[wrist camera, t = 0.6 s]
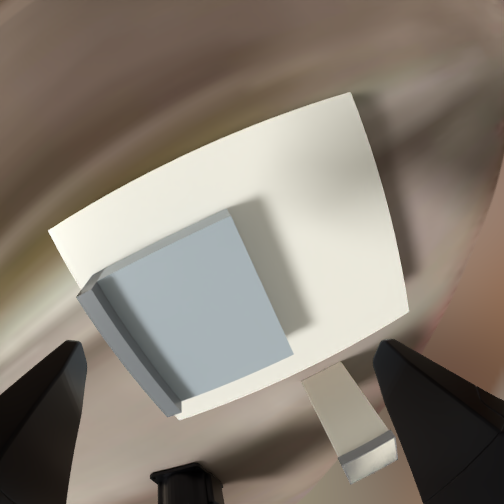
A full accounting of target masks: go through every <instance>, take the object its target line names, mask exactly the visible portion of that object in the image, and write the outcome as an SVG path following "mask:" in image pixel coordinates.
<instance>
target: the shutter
mask: <svg viewBox="0 0 504 504" xmlns="http://www.w3.org/2000/svg"><path fill="white" fill-rule="evenodd" d="M76 298H77V299H78V301H79V302H80V304H81V306H82V307H83V309H84V310H85V312H86V313H87V315H88V316H89V318H90V319H91V321H92V322H93V324H94V325H95V327H96V328H97V330H98V331H99V332H100V334H101V335H102V337H103V338H104V339H105V341H106V342H107V344H108V345H109V346H110V348H111V349H112V350H113V352H114V353H115V354H116V356H117V357H118V358H119V360H120V361H121V362H122V364H123V365H124V366H125V367H126V369H127V370H128V371H129V373H130V374H131V375H132V376H133V378H134V379H135V380H136V381H137V382H138V384H139V385H140V386H141V387H142V389H143V390H144V391H145V392H146V393H147V394H148V396H149V397H150V398H151V399H152V400H153V401H154V403H155V404H156V405H157V406H158V407H159V408H160V409H161V411H162V412H163V413H164V414H165V415H166V416H167V417H170V416H173V415H176V414H179V413H182V401H184V400H187V399H190V398H192V397H195V396H198V395H200V394H203V393H205V392H208V391H211V390H213V389H216V388H218V387H221V386H223V385H226V384H228V383H231V382H233V381H235V380H238V379H240V378H243V377H245V376H247V375H250V374H252V373H254V372H257V371H259V370H261V369H263V368H266V367H268V366H270V365H272V364H274V363H277V362H279V361H281V360H283V359H285V358H287V357H290V356H292V355H294V353H293V351H292V349H291V347H290V345H289V342H288V340H287V338H286V336H285V334H284V331H283V329H282V327H281V325H280V323H279V320H278V318H277V316H276V314H275V312H274V310H273V307H272V305H271V303H270V301H269V299H268V296H267V294H266V292H265V290H264V288H263V285H262V283H261V281H260V279H259V277H258V274H257V272H256V270H255V268H254V266H253V263H252V261H251V259H250V257H249V255H248V252H247V250H246V248H245V246H244V244H243V241H242V239H241V237H240V235H239V233H238V230H237V228H236V226H235V224H234V221H233V219H232V217H231V215H230V213H229V212H228V210H227V209H224V210H222V211H220V212H218V213H216V214H214V215H211V216H209V217H207V218H205V219H203V220H201V221H199V222H197V223H194V224H192V225H190V226H188V227H186V228H184V229H182V230H180V231H178V232H176V233H174V234H172V235H170V236H167V237H165V238H163V239H161V240H159V241H157V242H155V243H153V244H151V245H149V246H147V247H145V248H143V249H141V250H139V251H137V252H135V253H133V254H131V255H129V256H128V257H126V258H124V259H122V260H120V261H118V262H116V263H114V264H112V265H110V266H108V267H106V268H104V269H102V270H101V271H99V272H97V273H95V274H93V275H92V276H91V277H90V279H89V280H88V281H87V283H86V284H85V286H84V287H83V288H82V290H81V291H80V293H79V294H78V295H77V297H76Z"/></svg>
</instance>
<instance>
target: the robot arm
mask: <svg viewBox="0 0 504 504" xmlns="http://www.w3.org/2000/svg"><path fill="white" fill-rule="evenodd" d="M373 367H374V370H375V373H376V376H377V380H378V383H379V386H380V390H381V393H382V396H383V399H384V402H385V405H386V408H387V410H388V413H389V415H390V417H391V420H392V422H393V425H394V427H395V430H396V432H397V434H398V437H399V440H400V442H401V445H402V447H403V450H404V453H405V455H406V458H407V460H408V463H409V466H410V468H411V471H412V474H413V477H414V479H415V482H416V484H417V487H418V490H419V493H420V496H421V499H422V502H423V503H424V504H504V401H503V400H502V399H499V398H497V397H495V396H494V395H492V394H490V393H488V392H486V391H484V390H483V389H481V388H479V387H476V386H475V385H474V384H472V383H470V382H468V381H466V380H465V379H463V378H461V377H460V376H458V375H456V374H454V373H453V372H451V371H449V370H447V369H446V368H444V367H442V366H440V365H438V364H437V363H435V362H433V361H432V360H430V359H428V358H426V357H424V356H423V355H421V354H419V353H418V352H416V351H414V350H412V349H411V348H409V347H407V346H405V345H404V344H402V343H400V342H398V341H397V340H395V339H385V340H382V341H381V342H380V344H379V347H378V349H377V351H376V353H375V356H374V358H373ZM86 374H87V362H86V358H85V354H84V351H83V347H82V344H81V342H79V341H74V340H67V341H65V342H64V343H62V344H61V345H60V346H59V347H57V348H56V349H55V350H54V351H53V352H51V353H50V354H49V355H48V356H46V357H45V358H44V359H43V360H41V361H40V362H39V363H38V364H37V365H35V366H34V367H33V368H32V369H31V370H29V371H28V372H27V373H26V374H25V375H23V376H22V377H21V378H20V379H19V380H17V381H16V382H15V383H14V384H13V385H12V386H10V387H9V388H8V389H7V390H6V391H4V392H3V393H2V394H1V395H0V504H66V500H67V492H68V485H69V478H70V472H71V466H72V460H73V454H74V449H75V444H76V439H77V434H78V429H79V424H80V419H81V414H82V406H83V397H84V388H85V381H86ZM150 479H151V480H152V481H154V482H155V483H157V484H158V504H224V499H223V493H222V488H223V484H222V483H221V482H220V481H219V480H218V479H217V478H216V477H214V476H213V475H212V474H211V473H209V472H208V471H207V470H205V469H204V468H203V467H202V466H201V465H200V464H198V463H193V464H190V465H186V466H182V467H178V468H174V469H170V470H166V471H162V472H158V473H153V474H150Z"/></svg>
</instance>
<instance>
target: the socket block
mask: <svg viewBox="0 0 504 504" xmlns="http://www.w3.org/2000/svg"><path fill="white" fill-rule="evenodd" d="M224 209H227V210H228V212H229V213H230V215H231V217H232V219H233V221H234V224H235V226H236V228H237V230H238V233H239V235H240V237H241V239H242V241H243V244H244V246H245V248H246V250H247V252H248V255H249V257H250V259H251V261H252V263H253V266H254V268H255V270H256V272H257V274H258V277H259V279H260V281H261V283H262V285H263V288H264V290H265V292H266V294H267V296H268V299H269V301H270V303H271V305H272V307H273V310H274V312H275V314H276V316H277V318H278V320H279V323H280V325H281V327H282V329H283V331H284V334H285V336H286V338H287V340H288V342H289V345H290V347H291V349H292V351H293V353H294V355H292V356H290V357H287V358H285V359H283V360H281V361H279V362H277V363H274V364H272V365H270V366H268V367H266V368H263V369H261V370H259V371H257V372H254V373H252V374H250V375H247V376H245V377H243V378H240V379H238V380H235V381H233V382H231V383H228V384H226V385H223V386H221V387H218V388H216V389H213V390H211V391H208V392H205V393H203V394H200V395H198V396H195V397H192V398H190V399H187V400H184V401H182V413H179V414H176V415H175V416H176V417H177V418H178V420H182V419H185V418H188V417H191V416H193V415H196V414H199V413H202V412H205V411H207V410H210V409H213V408H216V407H218V406H221V405H223V404H226V403H229V402H231V401H234V400H236V399H239V398H241V397H244V396H246V395H248V394H251V393H253V392H256V391H258V390H260V389H263V388H265V387H267V386H270V385H272V384H274V383H276V382H279V381H281V380H283V379H285V378H287V377H290V376H292V375H294V374H296V373H298V372H300V371H302V370H304V369H306V368H308V367H310V366H313V365H315V364H317V363H319V362H321V361H323V360H325V359H326V358H328V357H330V356H332V355H334V354H336V353H338V352H340V351H342V350H344V349H346V348H347V347H349V346H351V345H353V344H355V343H357V342H358V341H360V340H362V339H364V338H366V337H367V336H369V335H371V334H373V333H374V332H376V331H378V330H380V329H381V328H383V327H385V326H386V325H388V324H390V323H391V322H393V321H395V320H396V319H398V318H400V317H401V316H403V315H404V314H406V313H408V312H409V308H408V301H407V295H406V289H405V283H404V277H403V272H402V267H401V262H400V257H399V252H398V247H397V242H396V238H395V234H394V229H393V225H392V221H391V217H390V213H389V209H388V205H387V201H386V197H385V194H384V190H383V187H382V183H381V180H380V176H379V173H378V169H377V166H376V163H375V160H374V156H373V153H372V150H371V147H370V144H369V141H368V138H367V135H366V132H365V129H364V127H363V124H362V121H361V118H360V115H359V113H358V110H357V107H356V105H355V102H354V100H353V97H352V95H351V92H349V93H345V94H342V95H339V96H335V97H332V98H329V99H326V100H323V101H320V102H316V103H313V104H310V105H307V106H305V107H302V108H299V109H296V110H293V111H290V112H287V113H285V114H282V115H279V116H276V117H274V118H271V119H268V120H266V121H263V122H261V123H258V124H255V125H253V126H250V127H248V128H245V129H243V130H241V131H238V132H236V133H233V134H231V135H228V136H226V137H224V138H221V139H219V140H217V141H214V142H212V143H210V144H208V145H205V146H203V147H201V148H199V149H197V150H194V151H192V152H190V153H188V154H186V155H184V156H181V157H179V158H177V159H175V160H173V161H171V162H169V163H167V164H165V165H163V166H161V167H159V168H157V169H155V170H153V171H151V172H149V173H147V174H145V175H143V176H141V177H139V178H137V179H135V180H134V181H132V182H130V183H128V184H126V185H124V186H122V187H120V188H119V189H117V190H115V191H113V192H111V193H110V194H108V195H106V196H104V197H103V198H101V199H99V200H97V201H96V202H94V203H92V204H90V205H89V206H87V207H85V208H84V209H82V210H80V211H79V212H77V213H75V214H74V215H72V216H70V217H69V218H67V219H66V220H64V221H62V222H61V223H59V224H58V225H56V226H55V227H53V228H51V229H50V230H48V232H49V233H50V235H51V237H52V239H53V241H54V243H55V245H56V247H57V249H58V251H59V252H60V254H61V256H62V258H63V260H64V261H65V263H66V265H67V267H68V269H69V270H70V272H71V274H72V275H73V277H74V279H75V280H76V282H77V284H78V285H79V287H80V289H81V290H82V288H83V287H84V286H85V284H86V283H87V281H88V280H89V279H90V277H91V276H92V275H93V274H95V273H97V272H99V271H101V270H102V269H104V268H106V267H108V266H110V265H112V264H114V263H116V262H118V261H120V260H122V259H124V258H126V257H128V256H129V255H131V254H133V253H135V252H137V251H139V250H141V249H143V248H145V247H147V246H149V245H151V244H153V243H155V242H157V241H159V240H161V239H163V238H165V237H167V236H170V235H172V234H174V233H176V232H178V231H180V230H182V229H184V228H186V227H188V226H190V225H192V224H194V223H197V222H199V221H201V220H203V219H205V218H207V217H209V216H211V215H214V214H216V213H218V212H220V211H222V210H224Z"/></svg>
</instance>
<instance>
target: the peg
mask: <svg viewBox="0 0 504 504" xmlns="http://www.w3.org/2000/svg"><path fill="white" fill-rule="evenodd" d="M301 382H302V384H303V386H304V388H305V391H306V393H307V395H308V397H309V399H310V401H311V403H312V405H313V407H314V409H315V411H316V413H317V415H318V417H319V419H320V421H321V423H322V425H323V427H324V429H325V431H326V433H327V435H328V437H329V439H330V441H331V443H332V445H333V447H334V449H335V451H336V453H337V455H338V460H339V462H340V464H341V466H342V468H343V470H344V472H345V474H346V476H347V478H348V480H349V482H350V484H353V483H355V482H357V481H359V480H361V479H363V478H365V477H367V476H369V475H371V474H373V473H375V472H376V471H378V470H380V469H382V468H384V467H386V466H387V465H389V464H391V463H392V462H394V461H396V460H398V456H397V446H396V438H395V436H394V434H393V433H392V431H391V430H388V428H387V427H386V426H385V424H384V423H383V421H382V420H381V418H380V417H379V415H378V414H377V413H376V411H375V410H374V408H373V407H372V405H371V404H370V402H369V401H368V400H367V398H366V397H365V395H364V394H363V392H362V391H361V390H360V388H359V387H358V385H357V384H356V382H355V381H354V380H353V378H352V377H351V375H350V374H349V372H348V371H347V370H346V368H345V367H344V365H343V364H342V363H341V361H340V362H338V363H337V364H335V365H333V366H331V367H329V368H327V369H325V370H323V371H321V372H319V373H317V374H315V375H313V376H311V377H309V378H307V379H305V380H303V381H301Z"/></svg>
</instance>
